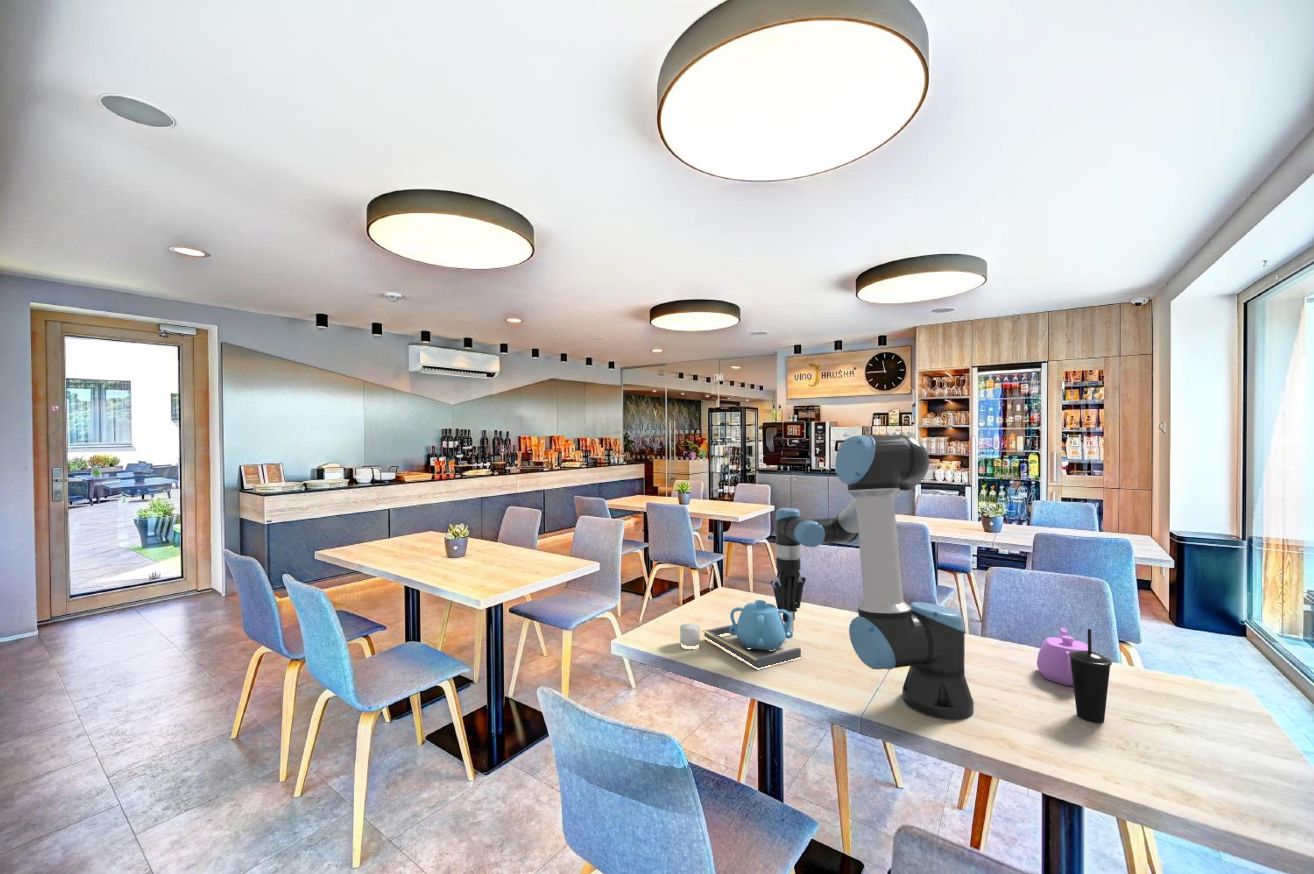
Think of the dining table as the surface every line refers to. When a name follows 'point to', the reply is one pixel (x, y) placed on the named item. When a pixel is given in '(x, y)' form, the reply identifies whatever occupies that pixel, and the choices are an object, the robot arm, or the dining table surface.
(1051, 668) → the teapot
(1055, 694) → the dining table surface
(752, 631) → the decorative pot
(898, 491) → the robot arm
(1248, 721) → the dining table surface
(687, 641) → the white rounded cylinder
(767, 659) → the grey piece
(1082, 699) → the drinking cup
